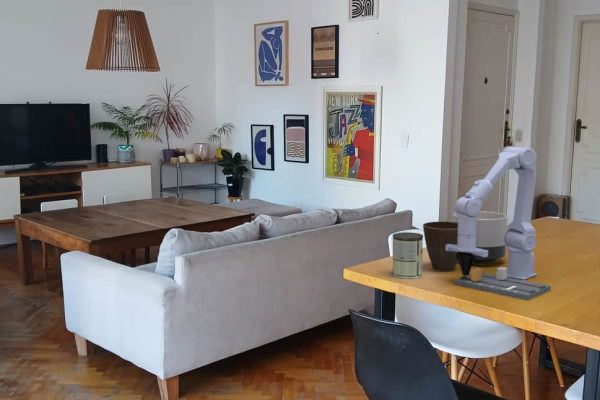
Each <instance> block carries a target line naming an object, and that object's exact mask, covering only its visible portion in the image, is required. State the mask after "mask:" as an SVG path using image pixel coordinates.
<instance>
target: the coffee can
mask: <svg viewBox="0 0 600 400" xmlns="http://www.w3.org/2000/svg"><path fill="white" fill-rule="evenodd" d="M423 238H424V234H422V233H418V232H411V231H410V232H407V231H405V232H396V233H393V234H392V276H393V275H394V276H393V277H395V278H398V277H399V279H407V280H413V278H414V279H420V278H422V277H423V250H424V249H423V248H424V247H423V245H424V244H423V242H424V241H423ZM421 276H422V277H421ZM419 277H420V278H419Z"/></svg>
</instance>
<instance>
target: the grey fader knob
mask: <svg viewBox="0 0 600 400" xmlns="http://www.w3.org/2000/svg"><path fill="white" fill-rule="evenodd" d="M507 273H508V267H503V266H500V267H498V268H496V275H497V278H496V279H498V280H504V279H507Z"/></svg>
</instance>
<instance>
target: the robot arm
mask: <svg viewBox="0 0 600 400" xmlns="http://www.w3.org/2000/svg"><path fill="white" fill-rule="evenodd" d="M498 155H499V156H498V159H497V161H496V162H495V164H494V165H493V166H492V167H491V169H490V170H489V172H488V173H487V174H486V175H485V177H484V178H483V179H478V180H476V181H475V182H474V183H473V184H474V185H472V187H471V188H470V189H469V190H468V192H466V193H465V195H464V196H462V197H459V198H458V199H457V201H456V202H455V205H454V206H453V207H454V212H455V213H457V218H458V245H452V244H448V245H446V251H454V252H458V253H457V254H456V258H457V260H458V261H457V262H458V264H459V267H460V270H461V275H462V277H463V276H469V275H470V273H471V271H472V267H473V264H474V263H473V262H474V260H475V259H476V257H477V255H478V256H482V257H487V256H488V250H483V249H480V248H476V215H477V214H478V213H480V211H482V206H483V203H484V202H485V201H486V200H487V198H489V196H490V195H491V194H492V192H493V191H494V190H493V186H494V185H495V183H497V181H499V180H500V179H501V178H502V177H503V176H504V175H505V174H506V172H508V171H509V170H514V171H515V173H516V174H517V175H518V180H517V188H516V194H515V195H516V196H515V203H514V210H513V211H514V212H513V220H512V221H511V222H510V223H509V224H507V231H506V233H505V235H504V243H505V245H506V250H508V251H507V254H508V255H507V277H508V278H513V279H518V280H523V281H526V280H528V279H529V278H532V277H535V276H537V275H538V274H537V273H536V272H535V267H536V266H535V263H536V261H535V260H536V256H535V253H534V252H533V251H534V249H535V248H536V245H537V237H536V232H537V231H536V228H535V227H534V226H533V225H532V223H531V222H532V221H531V219H532V212H533V204H534V196H535V189H536V179H537V172H538V170H537V157H538V155H537V153H536V152H535V151H534V149H532V148H531V147H522V146H521V147H520V146H512V145H511V146H510V145H508V146H505V147H504V148H503V150H502V151H501V152H499V154H498Z"/></svg>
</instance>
